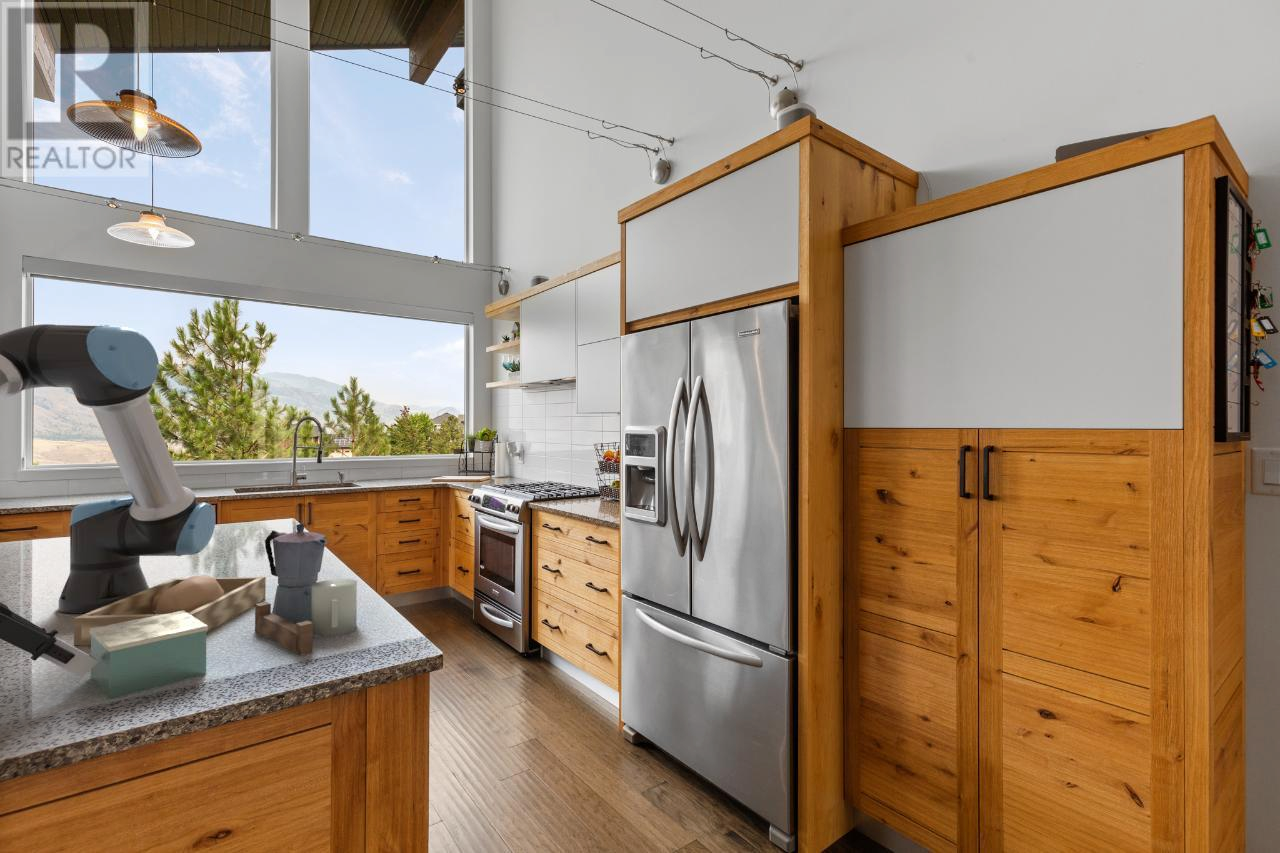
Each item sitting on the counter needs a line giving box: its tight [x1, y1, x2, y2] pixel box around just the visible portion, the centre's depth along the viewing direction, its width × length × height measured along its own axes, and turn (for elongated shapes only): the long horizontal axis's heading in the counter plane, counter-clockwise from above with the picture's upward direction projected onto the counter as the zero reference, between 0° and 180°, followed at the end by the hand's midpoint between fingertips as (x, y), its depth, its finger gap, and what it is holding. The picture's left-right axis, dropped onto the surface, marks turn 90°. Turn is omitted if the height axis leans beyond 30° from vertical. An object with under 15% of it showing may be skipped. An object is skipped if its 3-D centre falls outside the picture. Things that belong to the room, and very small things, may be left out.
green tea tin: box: [90, 611, 208, 700], centre depth 97 cm, size 12×12×8 cm
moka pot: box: [264, 523, 328, 624], centre depth 125 cm, size 10×15×20 cm, turn 78°
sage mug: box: [311, 578, 358, 637], centre depth 119 cm, size 10×8×9 cm
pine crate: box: [73, 576, 267, 647], centre depth 125 cm, size 28×19×5 cm
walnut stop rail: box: [254, 601, 314, 656], centre depth 113 cm, size 20×2×5 cm, turn 52°
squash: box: [151, 574, 224, 614], centre depth 125 cm, size 11×20×9 cm, turn 59°
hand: (89, 668), depth 92 cm, fingers closed
